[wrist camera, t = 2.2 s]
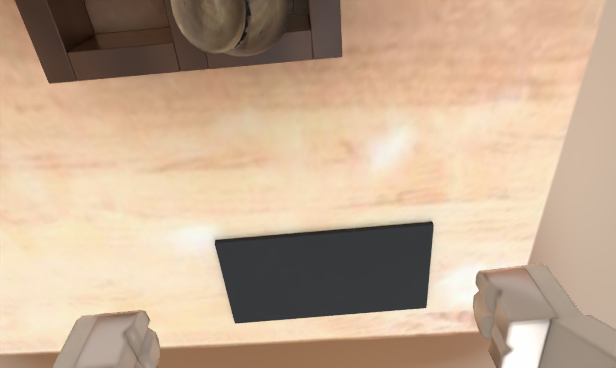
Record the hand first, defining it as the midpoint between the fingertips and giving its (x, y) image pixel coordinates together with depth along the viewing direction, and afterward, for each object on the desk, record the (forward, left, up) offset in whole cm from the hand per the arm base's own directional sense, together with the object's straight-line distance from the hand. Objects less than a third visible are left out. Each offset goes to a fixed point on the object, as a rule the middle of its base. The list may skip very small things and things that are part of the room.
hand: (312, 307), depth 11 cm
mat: (+1, -26, -28) cm, 38 cm away
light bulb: (-3, +5, -28) cm, 28 cm away
